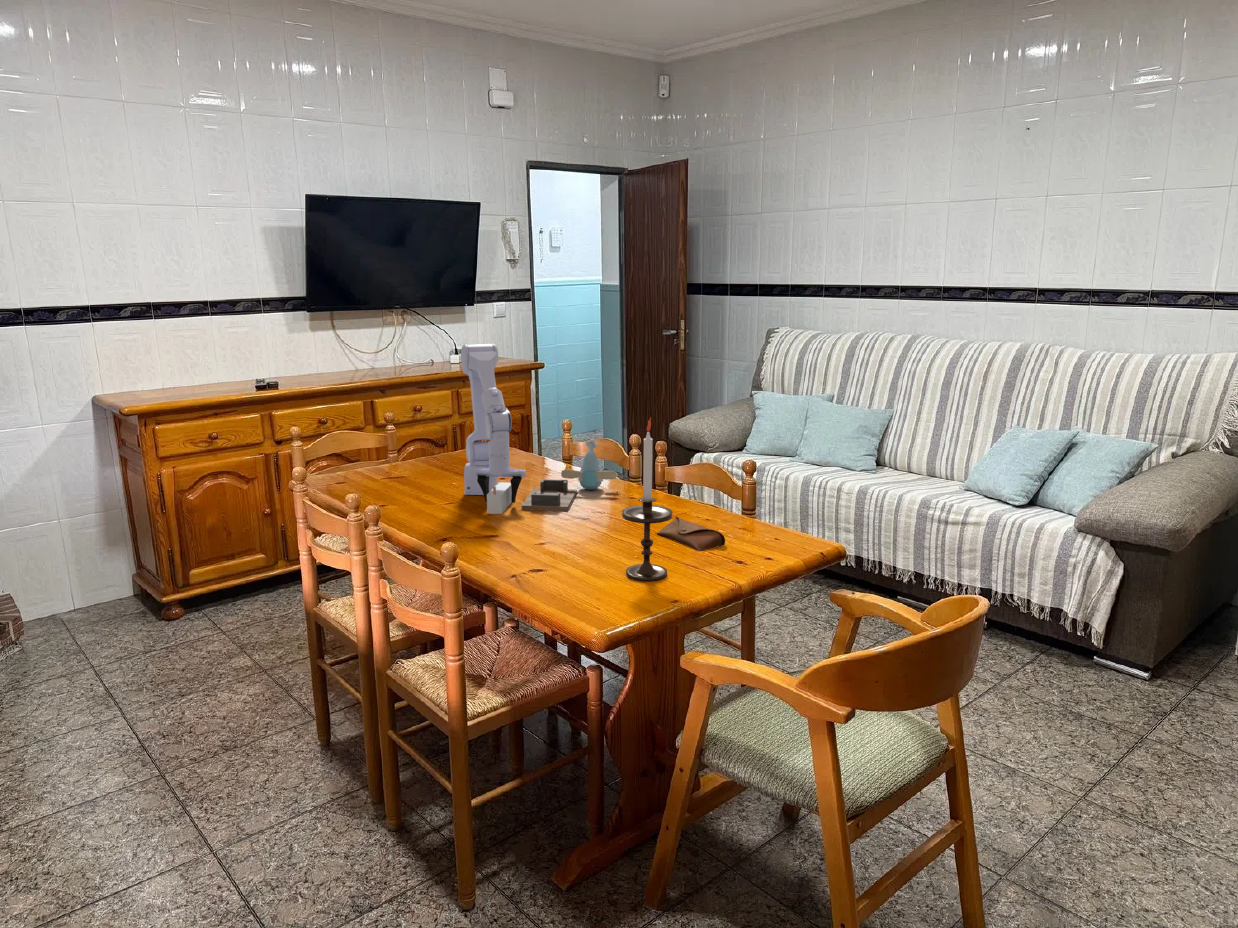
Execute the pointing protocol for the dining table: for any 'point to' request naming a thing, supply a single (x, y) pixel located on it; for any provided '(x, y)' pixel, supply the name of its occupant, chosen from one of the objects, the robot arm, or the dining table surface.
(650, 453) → the candlestick
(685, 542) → the sunglasses case
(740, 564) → the dining table surface
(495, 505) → the white rectangular block
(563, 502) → the cradle jig
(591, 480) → the toy figure
